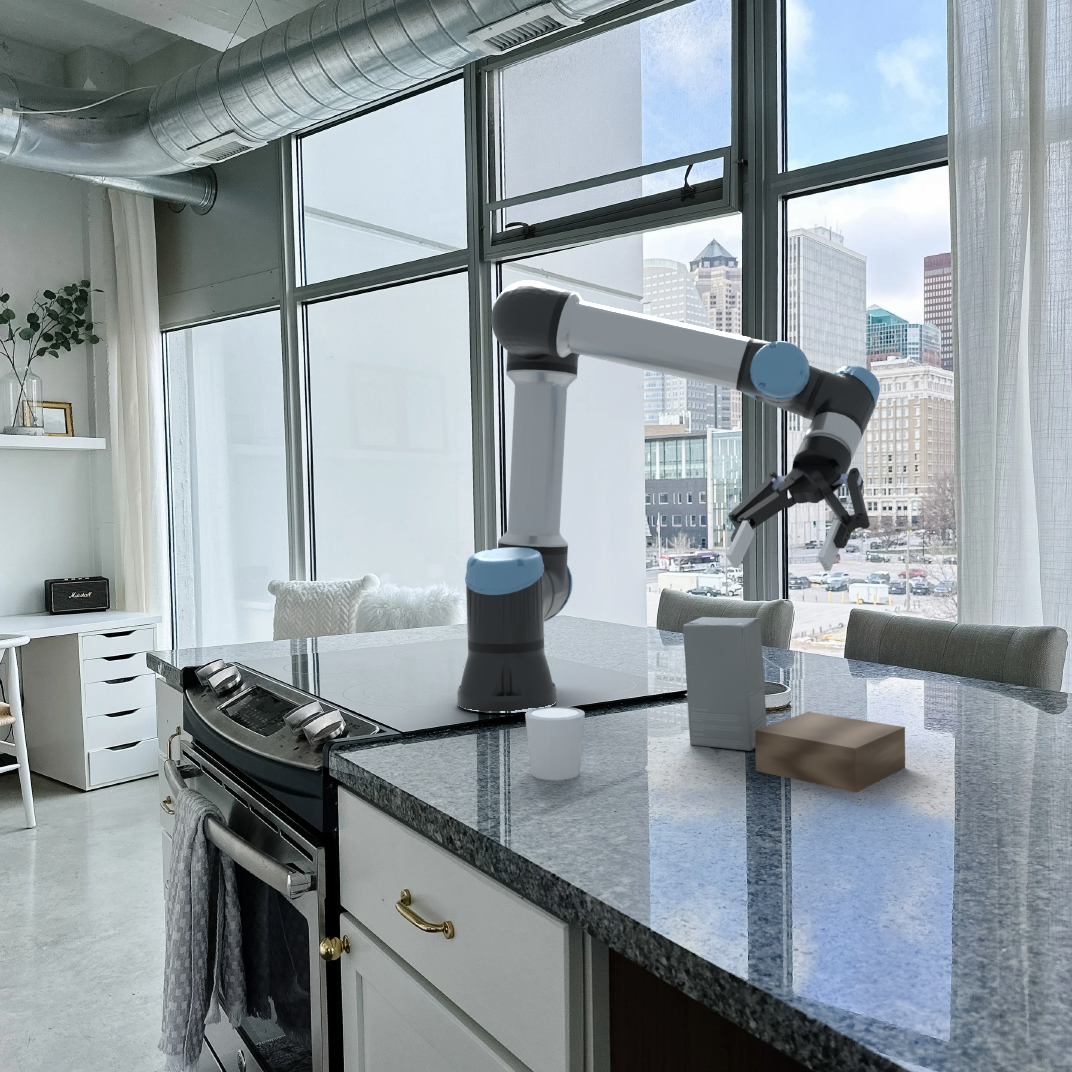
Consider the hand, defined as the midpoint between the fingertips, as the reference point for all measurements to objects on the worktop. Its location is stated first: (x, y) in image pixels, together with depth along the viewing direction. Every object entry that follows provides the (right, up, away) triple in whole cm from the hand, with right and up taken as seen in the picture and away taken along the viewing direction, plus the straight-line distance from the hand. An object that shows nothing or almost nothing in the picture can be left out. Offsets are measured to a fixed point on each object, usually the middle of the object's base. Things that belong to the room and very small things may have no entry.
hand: (776, 563), depth 127 cm
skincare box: (-8, -23, -7) cm, 25 cm away
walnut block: (+1, -23, -19) cm, 30 cm away
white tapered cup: (-30, -24, -18) cm, 42 cm away
